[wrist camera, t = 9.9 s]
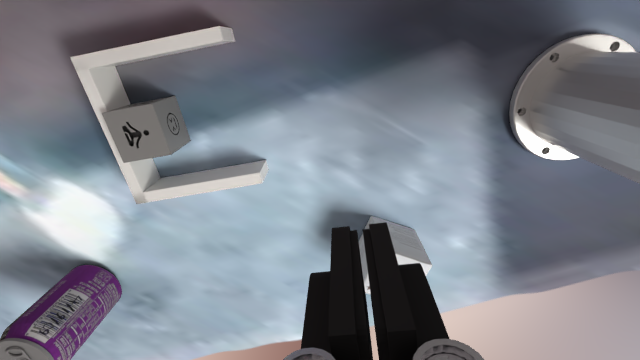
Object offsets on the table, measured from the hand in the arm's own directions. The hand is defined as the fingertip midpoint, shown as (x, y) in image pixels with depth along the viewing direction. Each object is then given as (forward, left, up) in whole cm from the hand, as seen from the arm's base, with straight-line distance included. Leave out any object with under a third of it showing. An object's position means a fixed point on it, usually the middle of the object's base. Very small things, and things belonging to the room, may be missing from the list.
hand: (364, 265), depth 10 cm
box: (+16, -2, -26) cm, 31 cm away
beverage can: (+36, +17, -27) cm, 48 cm away
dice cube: (+19, -2, -27) cm, 33 cm away
